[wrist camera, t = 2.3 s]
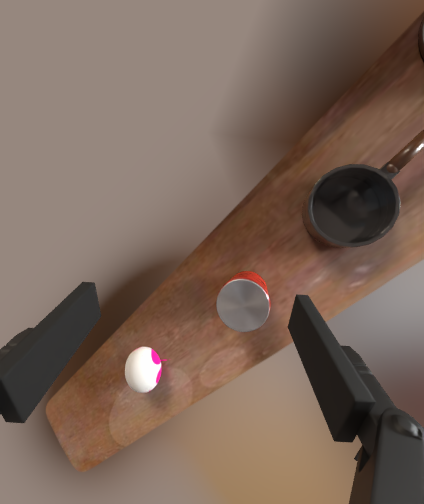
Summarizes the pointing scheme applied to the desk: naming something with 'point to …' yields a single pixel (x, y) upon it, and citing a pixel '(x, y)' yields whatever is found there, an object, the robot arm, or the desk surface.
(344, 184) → the skillet
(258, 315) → the tomato can
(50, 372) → the robot arm
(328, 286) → the desk surface
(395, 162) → the skillet handle
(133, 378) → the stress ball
